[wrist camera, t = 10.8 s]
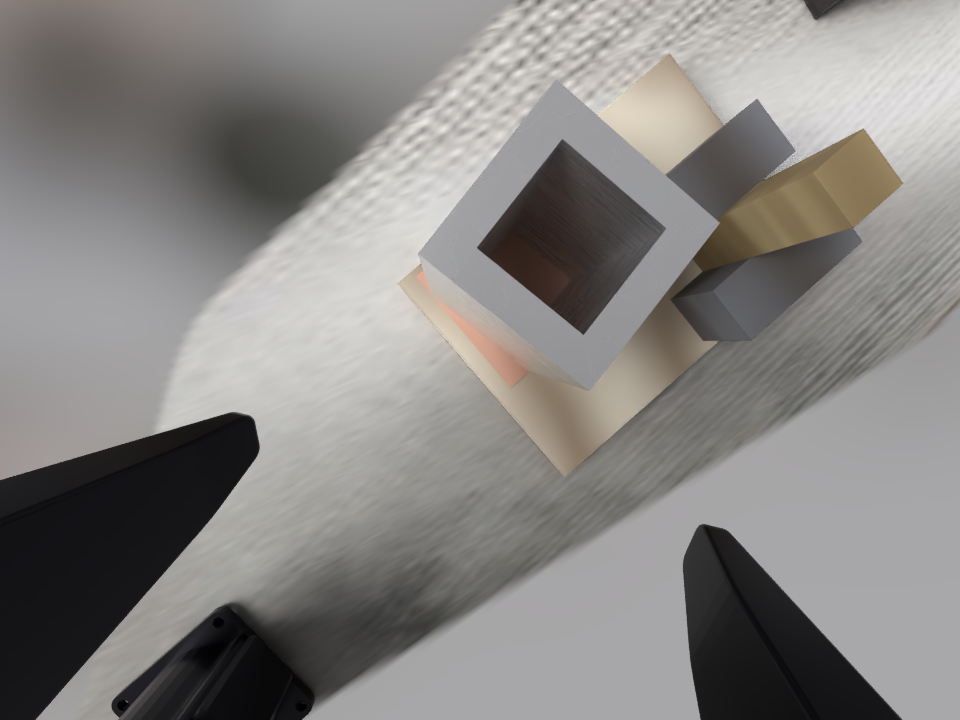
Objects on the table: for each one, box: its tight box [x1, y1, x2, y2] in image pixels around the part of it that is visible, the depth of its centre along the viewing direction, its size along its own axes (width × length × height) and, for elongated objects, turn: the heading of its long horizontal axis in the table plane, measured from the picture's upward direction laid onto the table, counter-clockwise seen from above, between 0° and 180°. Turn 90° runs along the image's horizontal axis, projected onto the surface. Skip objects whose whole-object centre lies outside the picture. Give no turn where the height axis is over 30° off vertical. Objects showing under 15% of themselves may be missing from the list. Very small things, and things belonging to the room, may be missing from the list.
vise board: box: [398, 54, 903, 477], centre depth 16 cm, size 16×12×8 cm
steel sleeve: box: [418, 80, 720, 391], centre depth 14 cm, size 5×5×8 cm
